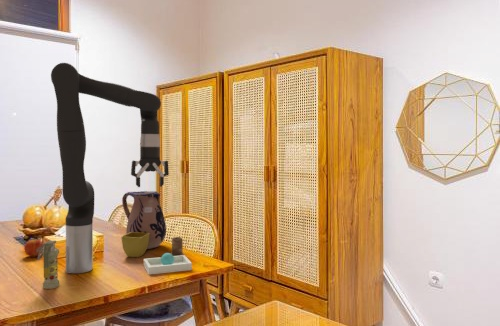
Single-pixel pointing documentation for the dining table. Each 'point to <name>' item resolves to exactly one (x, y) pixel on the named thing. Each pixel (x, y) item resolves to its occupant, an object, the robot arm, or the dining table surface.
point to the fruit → (33, 247)
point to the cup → (177, 246)
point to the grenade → (49, 264)
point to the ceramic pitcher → (146, 216)
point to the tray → (157, 267)
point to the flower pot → (135, 243)
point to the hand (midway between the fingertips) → (149, 186)
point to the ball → (167, 259)
